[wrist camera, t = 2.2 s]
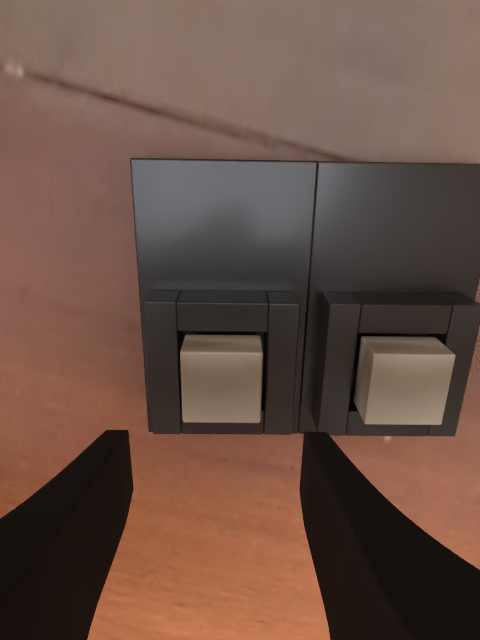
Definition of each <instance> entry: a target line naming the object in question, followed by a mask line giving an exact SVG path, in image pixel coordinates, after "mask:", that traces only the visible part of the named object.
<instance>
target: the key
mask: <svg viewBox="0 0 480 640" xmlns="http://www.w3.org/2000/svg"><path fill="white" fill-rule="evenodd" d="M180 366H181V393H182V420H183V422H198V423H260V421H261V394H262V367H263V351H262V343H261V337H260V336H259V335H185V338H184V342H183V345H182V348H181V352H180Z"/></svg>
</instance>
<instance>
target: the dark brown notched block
mask: <svg viewBox="0 0 480 640" xmlns="http://www.w3.org/2000/svg"><path fill="white" fill-rule="evenodd" d="M317 162H318V166H317V180H316V194H315V207H314V221H313V235H312V248H311V262H310V276H309V289H308V303H307V316H306V330H305V344H304V357H303V371H302V385H301V398H300V412H299V426H298V433H304V432H326V433H327V434H328V435H356V436H427V435H428V436H455V433H456V429H457V425H458V420H459V416H460V411H461V407H462V402H463V398H464V393H465V389H466V384H467V380H468V375H469V371H470V366H471V362H472V357H473V353H474V348H475V344H476V339H477V335H478V330H479V326H480V303H478V302H476V301H475V297H476V292H477V287H478V283H479V278H480V164H462V163H401V162H341V161H317ZM362 336H384V337H436V338H437V339H438V340H439V341H440V342H441V343H442V344H444V345H445V346H446V347H447V348H448V349H449V350H450V351H452V352H453V353H454V354H455V361H454V366H453V371H452V375H451V380H450V385H449V390H448V395H447V399H446V404H445V409H444V414H443V419H442V424H441V425H397V424H365V423H364V421H363V419H362V417H361V415H360V413H359V411H358V409H357V407H356V405H355V403H354V401H353V400H354V392H355V384H356V375H357V367H358V359H359V351H360V343H361V337H362Z"/></svg>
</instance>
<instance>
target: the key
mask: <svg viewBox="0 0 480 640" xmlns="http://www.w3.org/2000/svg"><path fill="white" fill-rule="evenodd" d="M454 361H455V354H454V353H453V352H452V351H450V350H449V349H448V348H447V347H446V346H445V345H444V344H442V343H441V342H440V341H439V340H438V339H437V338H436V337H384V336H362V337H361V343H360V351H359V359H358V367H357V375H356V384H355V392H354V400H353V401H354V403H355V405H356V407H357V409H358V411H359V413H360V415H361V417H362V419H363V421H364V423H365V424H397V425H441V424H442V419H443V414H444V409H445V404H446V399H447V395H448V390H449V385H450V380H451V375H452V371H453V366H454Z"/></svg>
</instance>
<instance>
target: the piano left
mask: <svg viewBox="0 0 480 640" xmlns="http://www.w3.org/2000/svg"><path fill="white" fill-rule="evenodd" d="M130 165H131V180H132V194H133V209H134V223H135V238H136V253H137V267H138V282H139V296H140V311H141V326H142V340H143V355H144V369H145V384H146V399H147V413H148V428H149V432H153V434H181V432H182V433H183V434H263V433H264V434H283V435H290V434H291V433H298V426H299V412H300V398H301V385H302V371H303V357H304V344H305V330H306V316H307V303H308V289H309V276H310V262H311V248H312V235H313V221H314V207H315V194H316V180H317V166H318V162H317V161H280V160H220V159H159V158H131V159H130ZM185 335H259V336H260V337H261V343H262V351H263V367H262V394H261V421H260V423H198V422H183V420H182V393H181V366H180V352H181V348H182V345H183V342H184V338H185Z"/></svg>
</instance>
